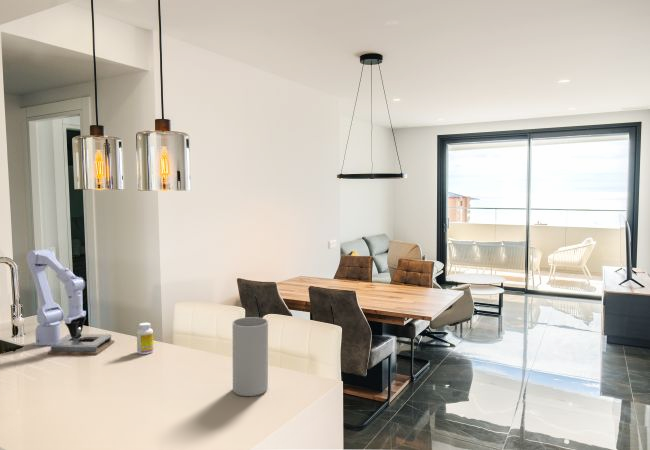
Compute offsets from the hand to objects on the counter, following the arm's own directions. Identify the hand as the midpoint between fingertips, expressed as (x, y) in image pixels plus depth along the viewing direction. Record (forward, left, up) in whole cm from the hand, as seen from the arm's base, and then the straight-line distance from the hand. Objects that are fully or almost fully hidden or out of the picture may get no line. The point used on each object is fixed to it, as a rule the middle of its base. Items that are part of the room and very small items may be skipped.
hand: (76, 334), depth 210 cm
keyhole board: (+2, 0, -6) cm, 6 cm away
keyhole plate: (+3, 0, -5) cm, 6 cm away
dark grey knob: (0, 0, -5) cm, 5 cm away
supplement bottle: (+33, -5, -6) cm, 34 cm away
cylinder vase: (+85, -44, -6) cm, 96 cm away
